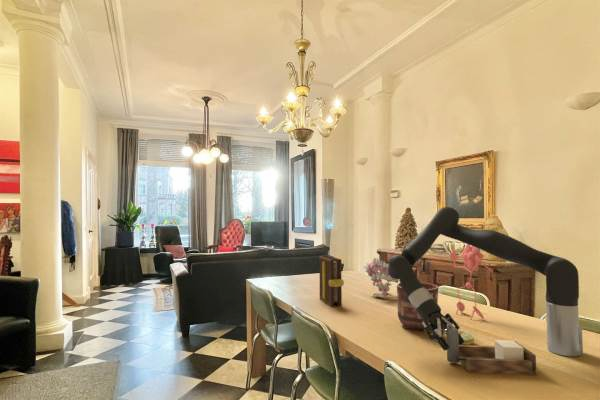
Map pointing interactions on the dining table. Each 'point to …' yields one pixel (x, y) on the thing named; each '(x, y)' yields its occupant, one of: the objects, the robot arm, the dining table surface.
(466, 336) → the decorated donut
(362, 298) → the dining table surface
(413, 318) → the pottery
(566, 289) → the robot arm
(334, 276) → the book
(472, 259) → the figurine
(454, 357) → the block with knobbed rod
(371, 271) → the flower
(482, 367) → the walnut lane
